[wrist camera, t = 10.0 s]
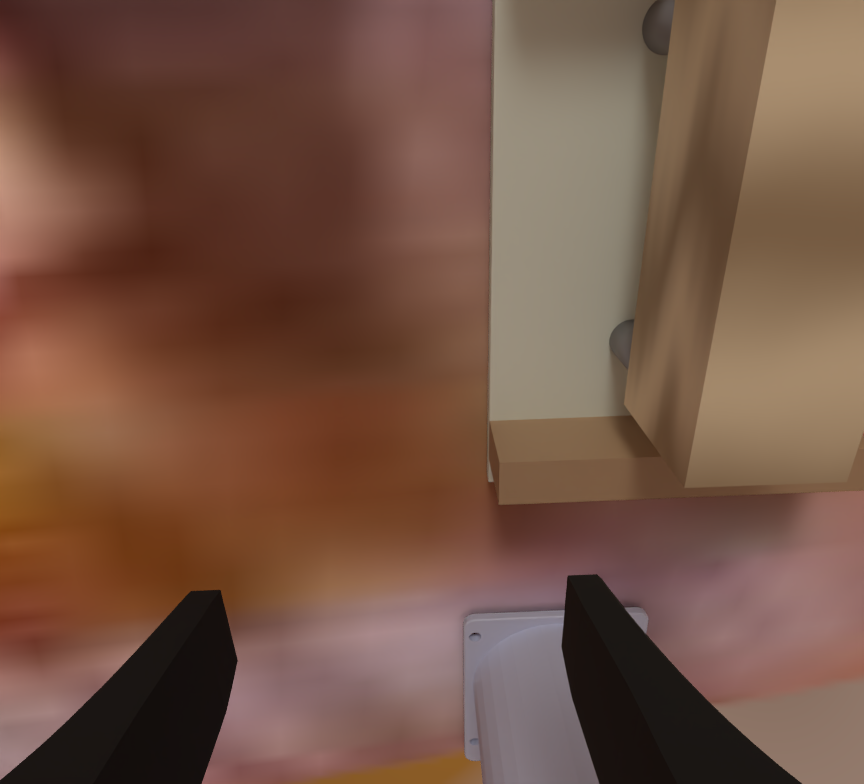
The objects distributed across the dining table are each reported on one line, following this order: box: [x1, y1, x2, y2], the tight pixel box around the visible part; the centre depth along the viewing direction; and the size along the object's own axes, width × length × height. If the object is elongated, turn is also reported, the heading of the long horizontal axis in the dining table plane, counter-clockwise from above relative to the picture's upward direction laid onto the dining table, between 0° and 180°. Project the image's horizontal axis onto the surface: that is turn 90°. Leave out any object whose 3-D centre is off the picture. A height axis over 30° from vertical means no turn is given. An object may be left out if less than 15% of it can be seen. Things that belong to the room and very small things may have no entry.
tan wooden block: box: [624, 0, 864, 488], centre depth 14 cm, size 12×4×5 cm, turn 1°
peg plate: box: [487, 0, 864, 505], centre depth 17 cm, size 20×12×3 cm, turn 2°
